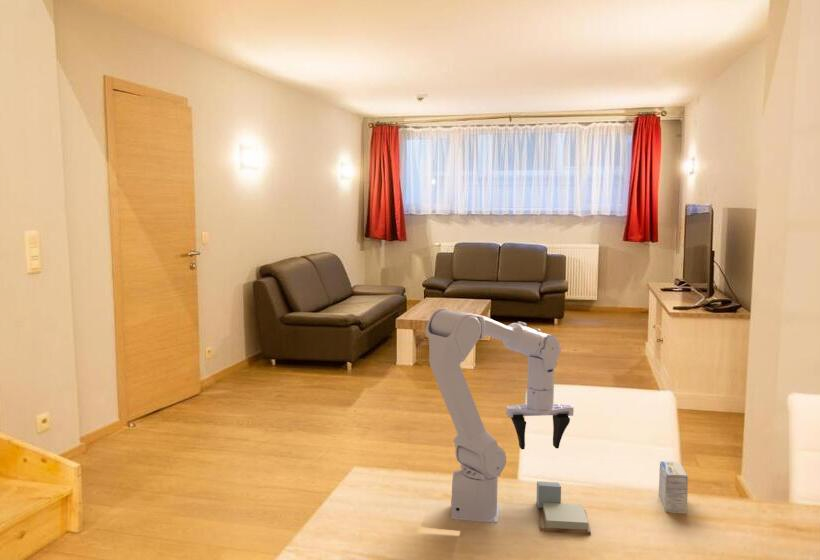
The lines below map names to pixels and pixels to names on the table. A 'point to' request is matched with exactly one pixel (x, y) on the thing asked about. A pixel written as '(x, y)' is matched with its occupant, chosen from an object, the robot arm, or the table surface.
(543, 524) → the tower base
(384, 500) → the table surface
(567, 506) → the tower top
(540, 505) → the cube
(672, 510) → the medicine box
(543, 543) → the table surface
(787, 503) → the table surface
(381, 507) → the table surface
